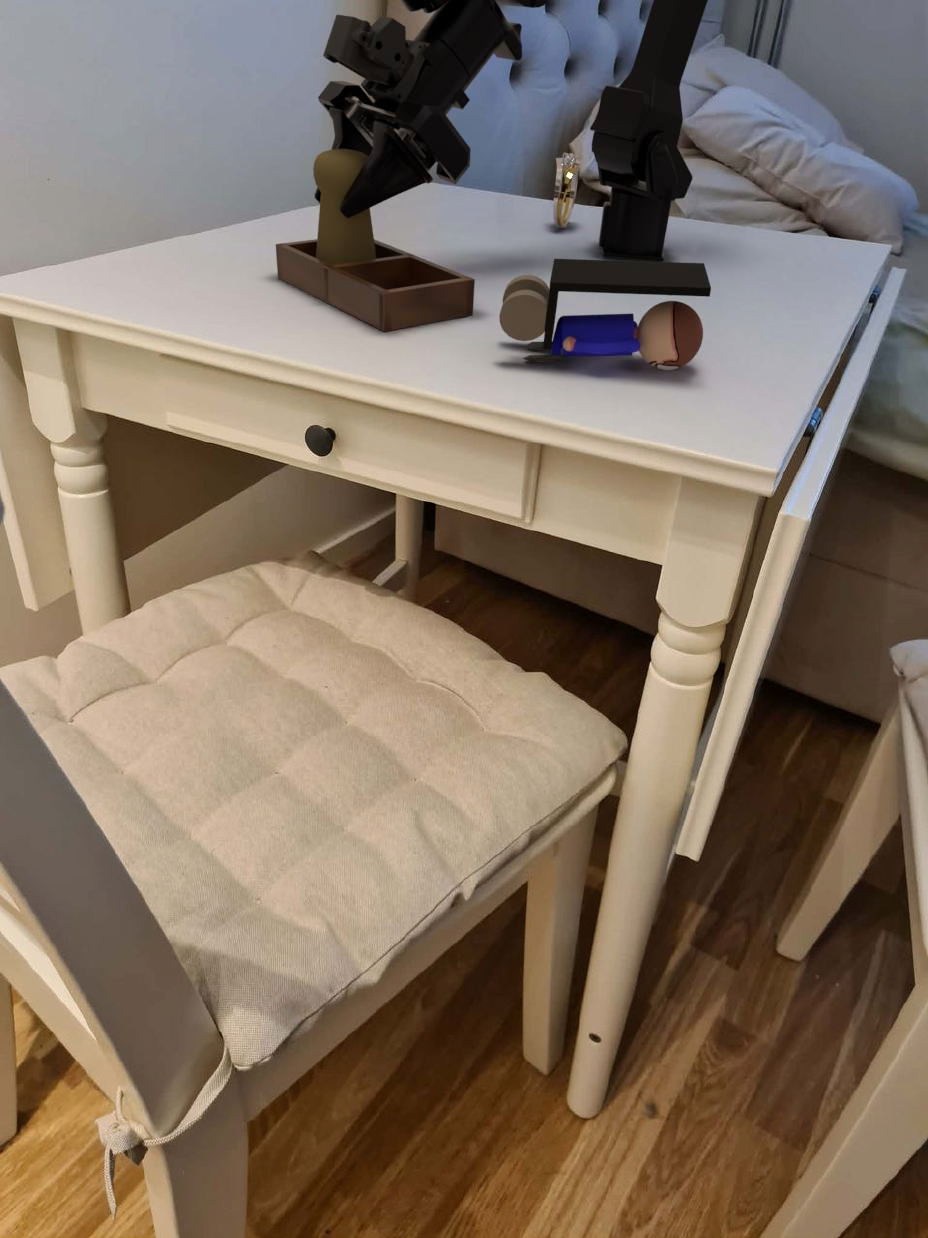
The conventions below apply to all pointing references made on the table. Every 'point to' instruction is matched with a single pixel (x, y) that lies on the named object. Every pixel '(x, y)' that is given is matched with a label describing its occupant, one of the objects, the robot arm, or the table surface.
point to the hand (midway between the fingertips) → (330, 207)
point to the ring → (565, 188)
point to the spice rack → (379, 285)
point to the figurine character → (659, 337)
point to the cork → (336, 231)
